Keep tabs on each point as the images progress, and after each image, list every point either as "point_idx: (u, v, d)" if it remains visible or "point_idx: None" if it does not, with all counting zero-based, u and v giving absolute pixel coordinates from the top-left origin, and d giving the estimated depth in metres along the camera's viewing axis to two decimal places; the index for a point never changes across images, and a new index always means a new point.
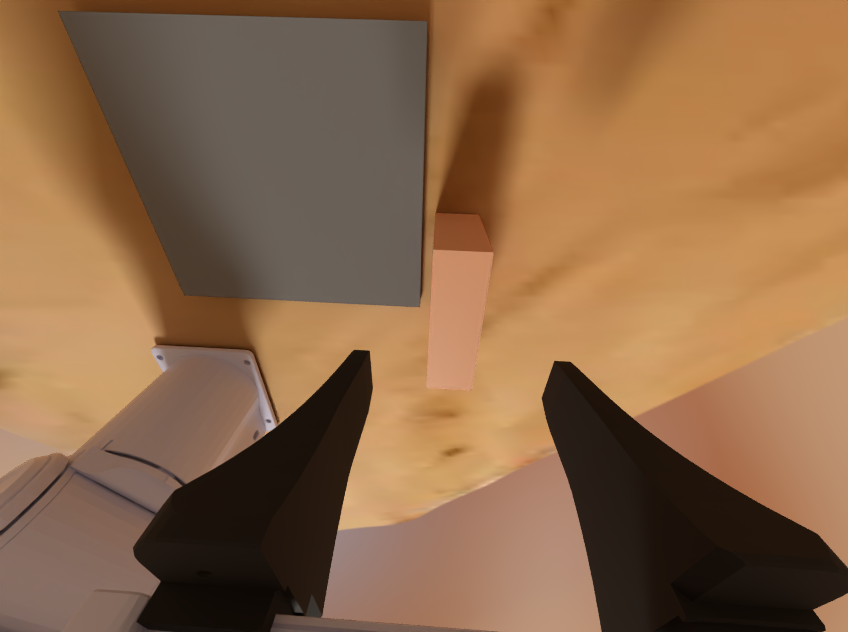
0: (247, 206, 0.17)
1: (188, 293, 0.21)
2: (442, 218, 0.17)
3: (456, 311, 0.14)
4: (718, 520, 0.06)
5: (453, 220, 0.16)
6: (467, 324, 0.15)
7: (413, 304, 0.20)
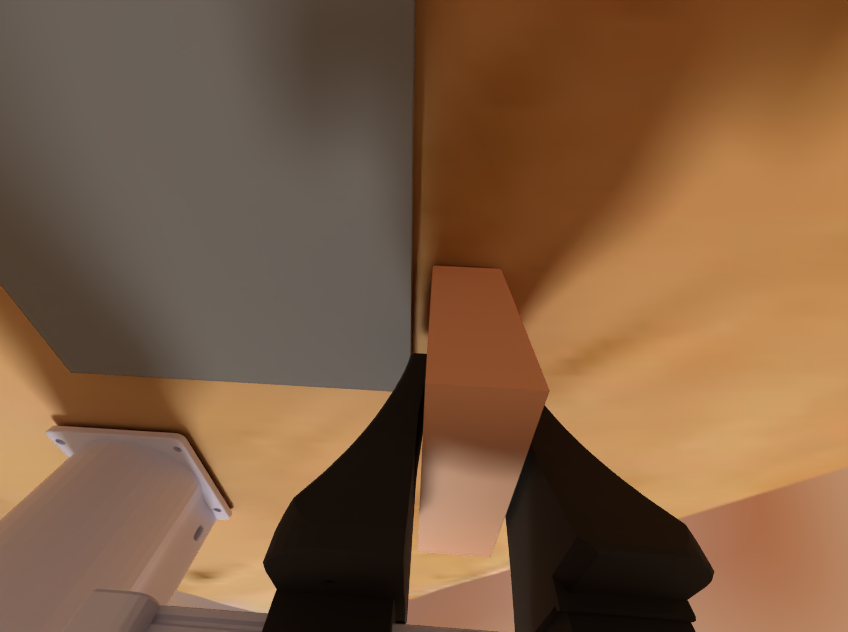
0: (135, 256, 0.11)
1: (76, 370, 0.14)
2: (444, 280, 0.10)
3: (468, 469, 0.08)
4: (592, 512, 0.06)
5: (461, 285, 0.10)
6: (488, 485, 0.08)
7: None
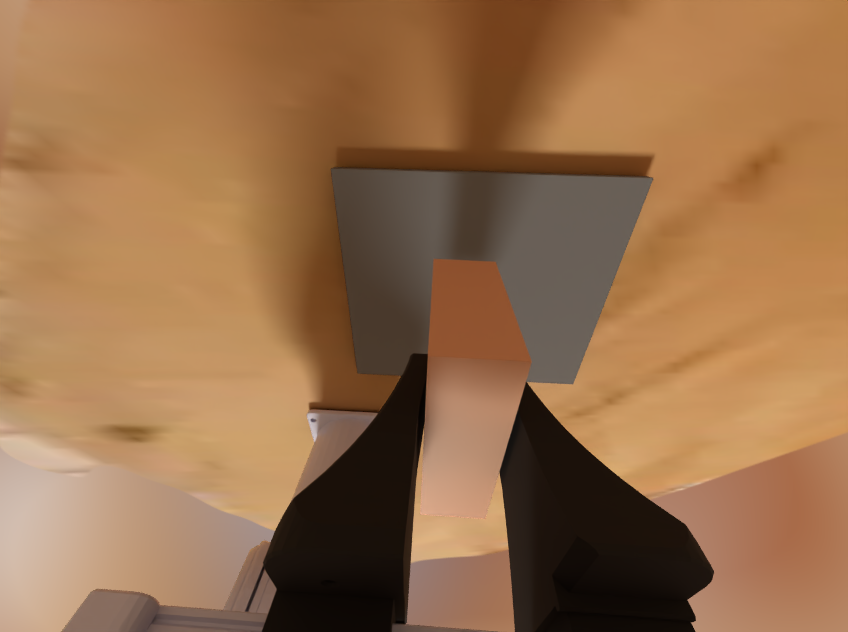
0: None
1: (361, 372, 0.23)
2: (443, 271, 0.11)
3: (465, 434, 0.09)
4: (591, 512, 0.06)
5: (459, 276, 0.11)
6: (482, 449, 0.09)
7: (567, 382, 0.23)
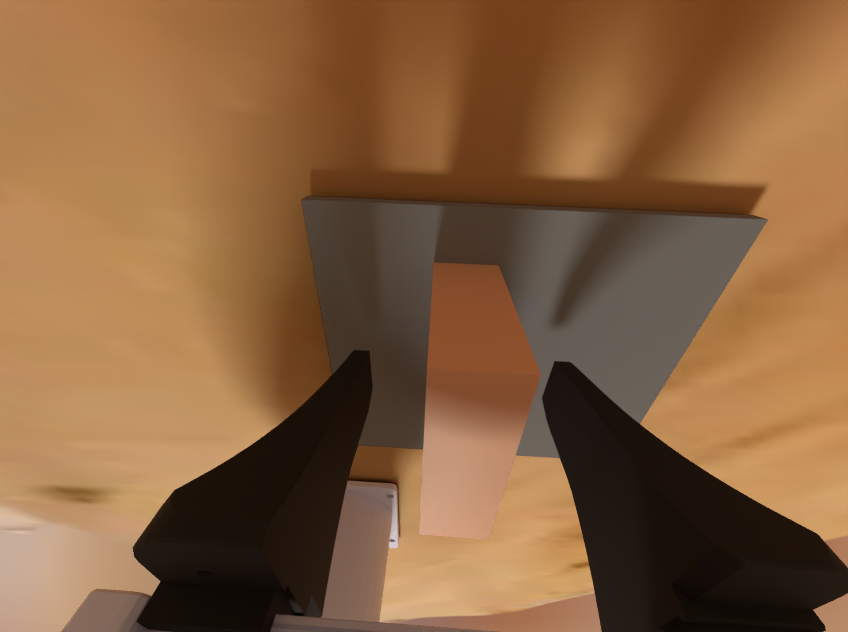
0: None
1: None
2: (444, 276, 0.11)
3: (467, 451, 0.08)
4: (717, 520, 0.06)
5: (460, 280, 0.11)
6: (485, 467, 0.09)
7: None
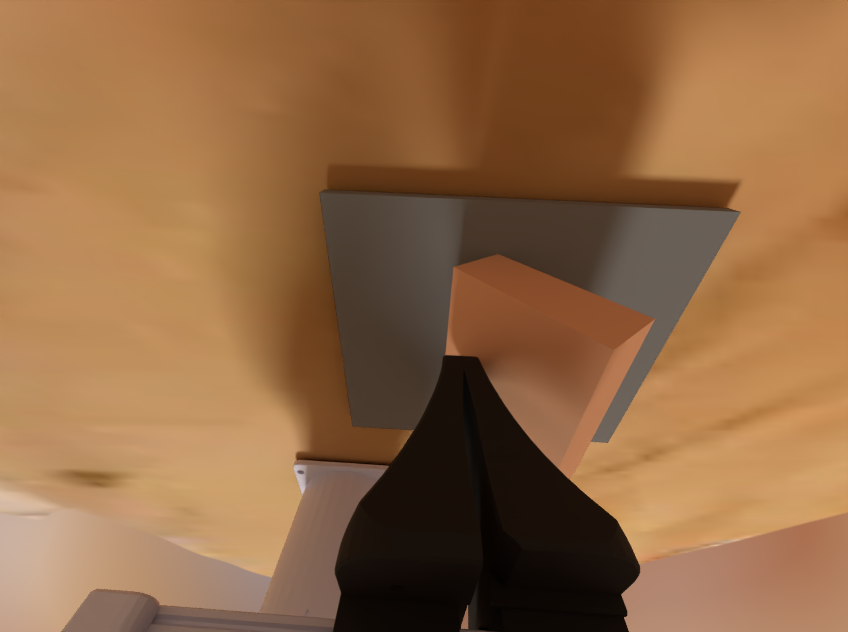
0: None
1: (357, 425, 0.19)
2: (484, 276, 0.11)
3: (598, 407, 0.10)
4: (526, 507, 0.06)
5: (501, 275, 0.11)
6: (600, 413, 0.10)
7: (602, 440, 0.19)
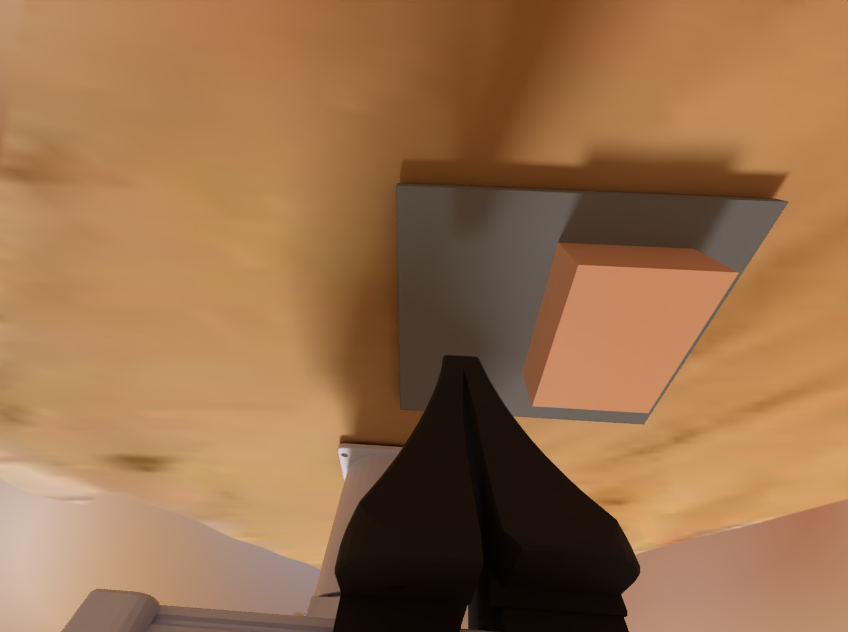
0: (508, 342, 0.17)
1: (405, 408, 0.20)
2: (605, 262, 0.12)
3: None
4: (525, 507, 0.06)
5: (607, 257, 0.13)
6: None
7: (638, 422, 0.20)
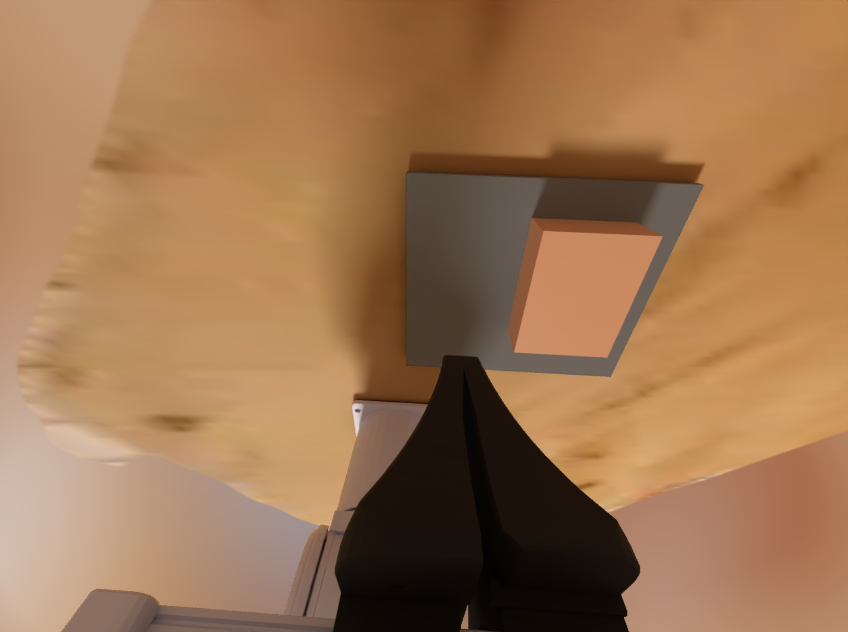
0: (495, 303, 0.21)
1: (410, 363, 0.24)
2: (564, 229, 0.16)
3: None
4: (525, 507, 0.06)
5: (566, 226, 0.16)
6: None
7: (605, 374, 0.24)
